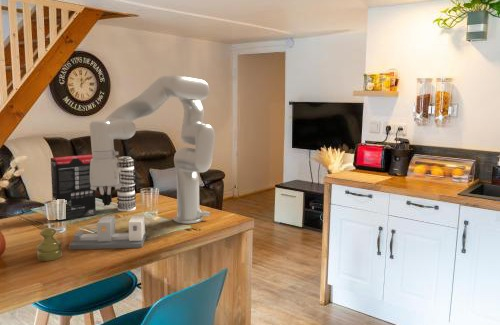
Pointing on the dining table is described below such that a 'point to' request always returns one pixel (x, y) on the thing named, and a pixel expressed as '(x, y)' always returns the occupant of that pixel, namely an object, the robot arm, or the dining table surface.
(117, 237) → the rail board
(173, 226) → the dining table surface
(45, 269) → the dining table surface
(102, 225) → the grey module
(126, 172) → the striped tall cylinder
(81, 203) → the graphics card box
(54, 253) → the olive green chess pawn
